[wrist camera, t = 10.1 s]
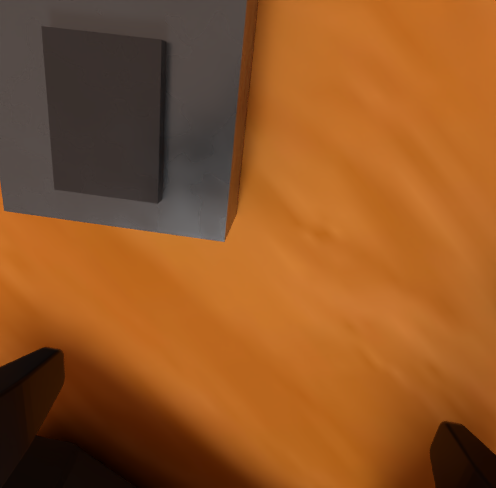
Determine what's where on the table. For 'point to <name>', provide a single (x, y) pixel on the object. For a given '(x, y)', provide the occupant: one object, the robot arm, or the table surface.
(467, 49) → the table surface
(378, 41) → the table surface
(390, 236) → the table surface
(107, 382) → the table surface
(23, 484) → the portable speaker
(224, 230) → the panel
